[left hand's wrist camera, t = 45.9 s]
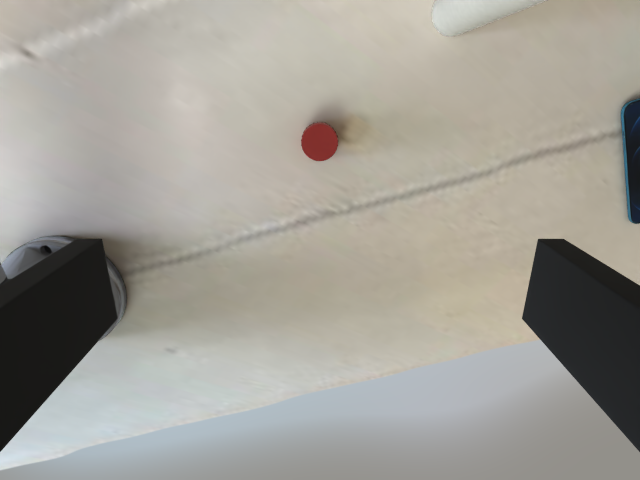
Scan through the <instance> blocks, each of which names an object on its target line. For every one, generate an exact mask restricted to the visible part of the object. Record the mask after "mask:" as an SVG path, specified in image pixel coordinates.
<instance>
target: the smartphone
mask: <svg viewBox="0 0 640 480" xmlns="http://www.w3.org/2000/svg"><path fill="white" fill-rule="evenodd" d="M621 122H622V136H623V150H624V164H625V178H626V192H627V206H628V218H629V220H630V221H631V222H632V223H635V224H639V223H640V98H639V99H636V100H633V101H630V102H628V103H626V104H625V105H624V106H623V108H622V111H621Z"/></svg>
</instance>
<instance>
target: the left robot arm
mask: <svg viewBox="0 0 640 480" xmlns="http://www.w3.org/2000/svg"><path fill="white" fill-rule="evenodd" d="M126 298H127V297H126V289H125V285H124V282H123V280H122V277H121V275H120V274H119V272H118V270H117V269H116V267H115V266H114V265H113V263H112V262H111V261H110V260H109V259H108V258H107V257H106V256H105V252H104V247H103V242H102V239H73V238H69V237H63V236H46V237H41V238H38V239H34V240H32V241H30V242H28V243H26V244H24V245H22V246H20V247H19V248H17V249H15V250H14V251H13V252H12V253H11V254H10V255H9V256H8V257H7V258H6V259H5V261H4V262H3V263H2V265H1V263H0V452H1V450H2V449H3V448H4V447H5V446H6V445H7V444H8V443H9V441H10V440H11V439H12V438H13V437H14V436H15V435H16V433H17V432H18V431H19V430H20V429H21V428H22V427H23V426H24V424H25V423H26V422H27V421H28V420H29V419H30V418H31V416H32V415H33V414H34V413H35V412H36V411H37V410H38V409H39V407H40V406H41V405H42V404H43V403H44V402H45V401H46V399H47V398H48V397H49V396H50V395H51V394H52V393H53V392H54V390H55V389H56V388H57V387H58V386H59V385H60V384H61V382H62V381H63V380H64V379H65V378H66V377H67V376H68V375H69V373H70V372H71V371H72V370H73V369H74V368H75V367H76V366H77V364H78V363H79V362H80V361H81V360H82V359H83V358H84V356H85V355H86V354H87V353H88V352H89V351H90V350H91V349H92V347H93V346H94V345H95V344H96V343H97V342H98V341H99V340H101V339H103V338H104V337H105V336H107V335H108V334H109V333H110V332H111V331H112V330H113V328H114V327H115V326H116V325H117V324H118V323H119V321H120V320H121V318H122V316H123V314H124V311H125V308H126ZM522 319H523V320H524V321H525V322H526V324H527V325H528V326H529V327H530V328H531V329H532V330H533V332H534V333H535V334H536V335H537V336H538V337H539V338H540V339H541V341H542V342H543V343H544V344H545V345H546V346H547V347H548V349H549V350H550V351H551V352H552V353H553V354H554V355H555V356H556V358H557V359H558V360H559V361H560V362H561V363H562V364H563V366H564V367H565V368H566V369H567V370H568V371H569V372H570V373H571V375H572V376H573V377H574V378H575V379H576V380H577V381H578V382H579V384H580V385H581V386H582V387H583V388H584V389H585V390H586V391H587V393H588V394H589V395H590V396H591V397H592V398H593V399H594V401H595V402H596V403H597V404H598V405H599V406H600V407H601V409H602V410H603V411H604V412H605V413H606V414H607V415H608V416H609V418H610V419H611V420H612V421H613V422H614V423H615V424H616V425H617V427H618V428H619V429H620V430H621V431H622V432H623V433H624V435H625V436H626V437H627V438H628V439H629V440H630V441H631V443H632V444H633V445H634V446H635V447H636V448H637V449H638V450H639V452H640V285H638V284H636V283H635V282H633V281H631V280H630V279H628V278H626V277H625V276H623V275H622V274H620V273H618V272H617V271H615V270H613V269H612V268H610V267H609V266H607V265H605V264H604V263H602V262H600V261H599V260H597V259H595V258H594V257H592V256H591V255H589V254H587V253H586V252H584V251H582V250H581V249H579V248H578V247H576V246H574V245H573V244H571V243H569V242H568V241H566V240H564V239H538V242H537V247H536V252H535V257H534V262H533V267H532V272H531V277H530V282H529V287H528V292H527V297H526V302H525V307H524V312H523V316H522Z"/></svg>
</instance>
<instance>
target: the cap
mask: <svg viewBox="0 0 640 480" xmlns="http://www.w3.org/2000/svg"><path fill="white" fill-rule="evenodd" d="M301 141H302V145H301V146H302V149H303V151H304V153H305V154H306V155H307V156H308V157H309V158H311V159H312V160H315V161H324V160H327V159H329V158H330V157H332V156H333V155H334V153H335V152H336V150H337V146H338V139H337V135H336V132H335V131H334V129H333V128H332V127H331V126H330V125H328V124H326V123H322V122H317V123H313V124H311V125H309V127H307V128H306V130H305V131H304V134H303V135H302V140H301Z"/></svg>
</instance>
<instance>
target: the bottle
mask: <svg viewBox="0 0 640 480" xmlns="http://www.w3.org/2000/svg"><path fill="white" fill-rule="evenodd" d="M545 1H548V0H435V2H434V4H433V7H432V22H433V25H434V27H435V28H436V30H437V31H438V32H439V33H441V34H442V35H444V36H448V37H455V36H458V35H461V34H464V33H466V32H469V31H471V30H474V29H476V28H479V27H481V26H484V25H487V24H489V23H492V22H494V21H497V20H499V19H502V18H504V17H507V16H509V15H512V14H515V13H517V12H520V11H522V10H525V9H527V8H530V7H532V6H535V5H538V4H540V3H543V2H545Z"/></svg>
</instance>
